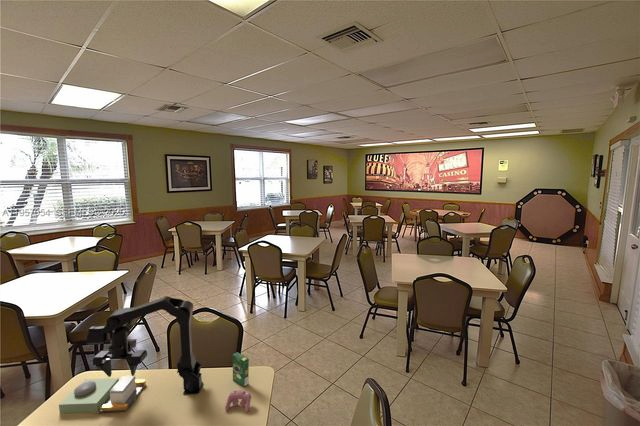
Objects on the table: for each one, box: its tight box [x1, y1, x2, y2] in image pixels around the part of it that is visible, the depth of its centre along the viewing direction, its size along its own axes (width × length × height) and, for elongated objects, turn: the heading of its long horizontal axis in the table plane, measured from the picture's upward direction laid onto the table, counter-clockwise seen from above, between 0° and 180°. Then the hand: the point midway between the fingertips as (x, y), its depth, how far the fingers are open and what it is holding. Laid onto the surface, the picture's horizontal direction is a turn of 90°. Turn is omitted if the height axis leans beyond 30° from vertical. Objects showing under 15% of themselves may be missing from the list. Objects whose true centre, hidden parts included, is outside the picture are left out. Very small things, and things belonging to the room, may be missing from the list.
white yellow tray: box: [98, 379, 147, 414], centre depth 121 cm, size 10×15×2 cm, turn 4°
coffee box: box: [232, 351, 250, 388], centre depth 131 cm, size 8×3×13 cm, turn 57°
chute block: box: [109, 374, 137, 404], centre depth 121 cm, size 5×9×6 cm, turn 4°
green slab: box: [58, 377, 120, 415], centre depth 120 cm, size 14×14×6 cm
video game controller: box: [224, 389, 252, 413], centre depth 118 cm, size 10×5×7 cm, turn 85°
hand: (121, 375), depth 120 cm, fingers open, 9 cm apart
